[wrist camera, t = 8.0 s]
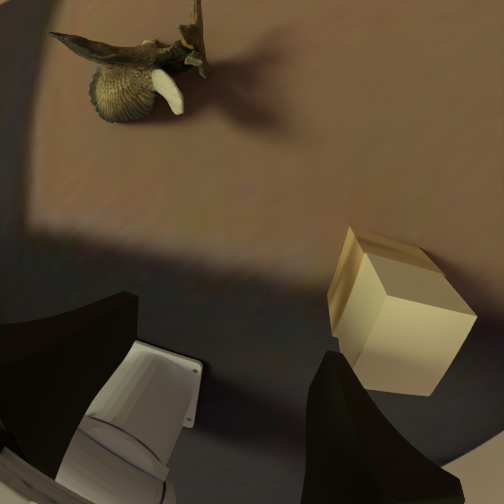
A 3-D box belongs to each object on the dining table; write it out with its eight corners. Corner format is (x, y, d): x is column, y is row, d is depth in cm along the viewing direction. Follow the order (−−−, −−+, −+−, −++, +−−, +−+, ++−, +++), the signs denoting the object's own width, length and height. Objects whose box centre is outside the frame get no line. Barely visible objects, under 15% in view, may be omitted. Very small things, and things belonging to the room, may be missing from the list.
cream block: (407, 342, 16) (429, 396, 12) (336, 328, 16) (344, 385, 12) (440, 273, 14) (477, 316, 10) (365, 252, 15) (387, 295, 10)
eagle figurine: (205, -17, 14) (68, 18, 14) (193, -10, 9) (8, 50, 9) (216, 88, 20) (94, 110, 20) (212, 142, 16) (56, 169, 16)
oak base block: (391, 309, 21) (409, 351, 16) (327, 294, 21) (332, 336, 17) (417, 245, 19) (445, 276, 14) (349, 226, 19) (363, 253, 15)
